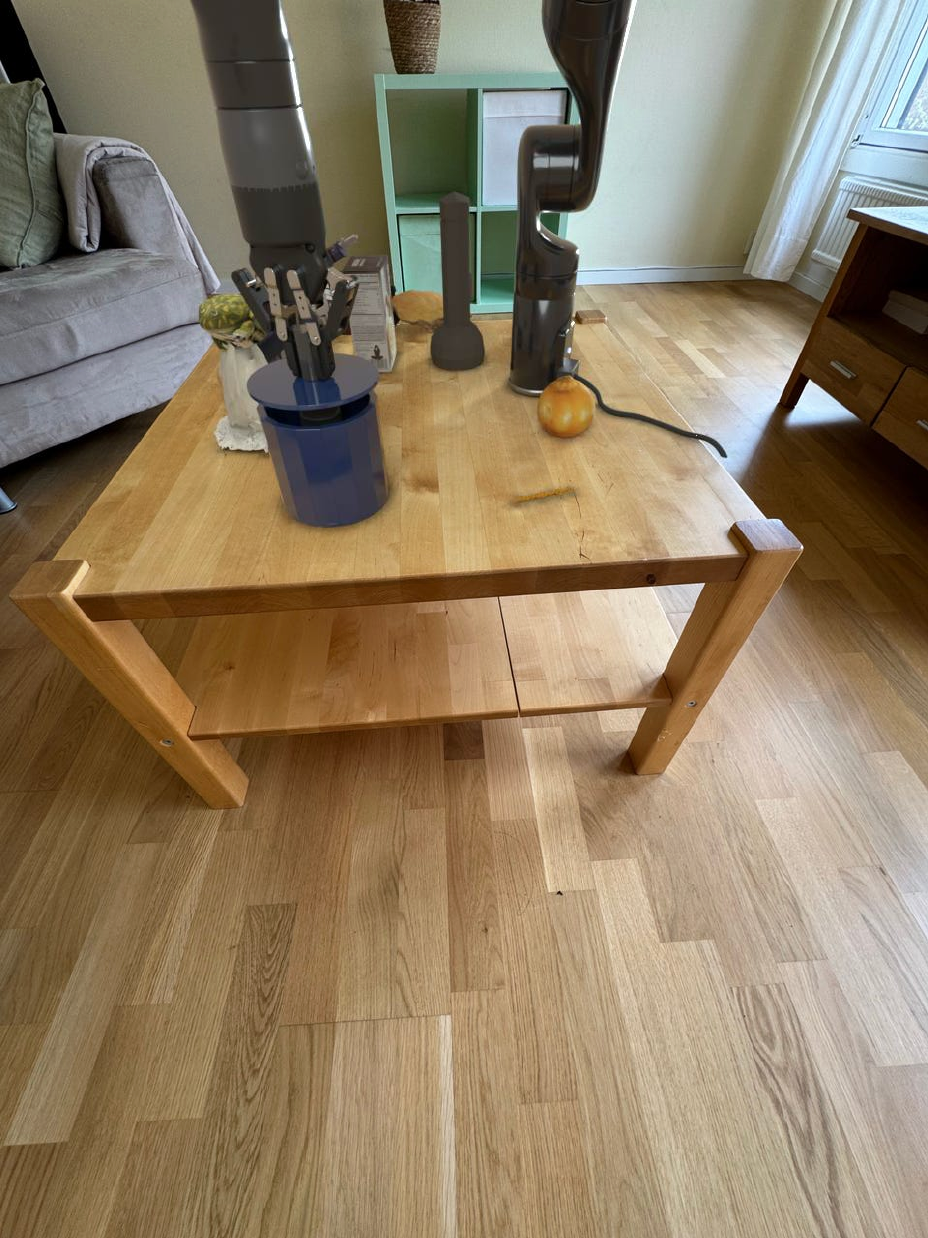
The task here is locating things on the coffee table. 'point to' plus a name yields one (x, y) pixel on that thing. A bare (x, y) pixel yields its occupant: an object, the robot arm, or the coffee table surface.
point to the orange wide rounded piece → (420, 308)
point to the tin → (328, 463)
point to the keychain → (544, 494)
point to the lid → (311, 380)
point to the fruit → (566, 407)
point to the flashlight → (456, 291)
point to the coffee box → (372, 311)
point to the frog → (236, 368)
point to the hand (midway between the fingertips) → (313, 375)
